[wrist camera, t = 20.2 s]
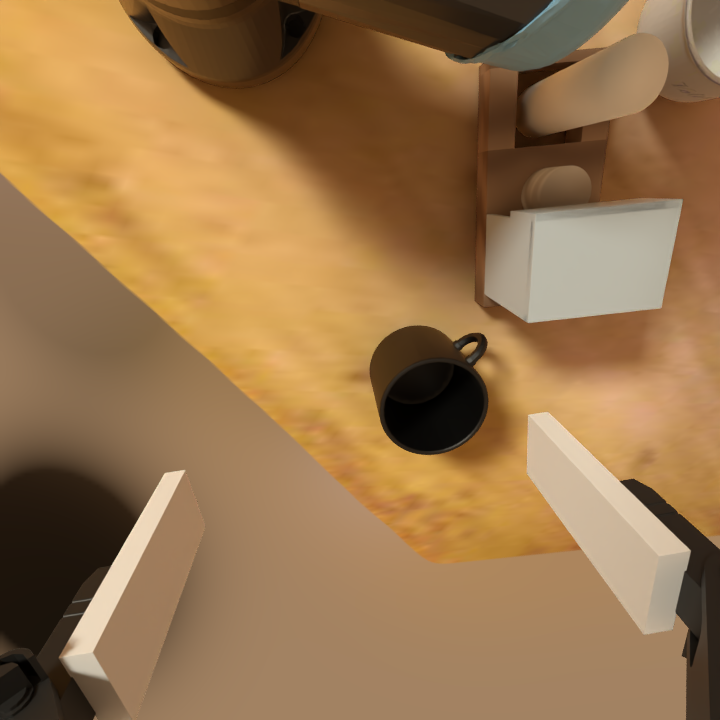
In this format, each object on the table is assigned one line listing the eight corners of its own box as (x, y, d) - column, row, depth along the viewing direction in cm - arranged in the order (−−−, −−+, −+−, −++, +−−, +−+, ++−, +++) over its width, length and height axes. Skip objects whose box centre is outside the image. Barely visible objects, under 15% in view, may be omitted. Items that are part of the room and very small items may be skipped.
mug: (494, 351, 43) (534, 390, 35) (408, 421, 46) (426, 473, 37) (439, 287, 40) (469, 313, 32) (350, 366, 43) (356, 409, 34)
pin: (512, 139, 36) (595, 117, 25) (515, 85, 34) (606, 35, 23) (557, 135, 36) (660, 112, 25) (562, 81, 34) (675, 30, 23)
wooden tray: (479, 66, 33) (509, 42, 28) (599, 56, 34) (652, 29, 28) (474, 300, 41) (497, 318, 35) (572, 290, 41) (610, 305, 36)
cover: (486, 208, 35) (535, 213, 27) (600, 196, 35) (683, 198, 27) (484, 294, 38) (527, 323, 30) (589, 282, 38) (661, 308, 30)
